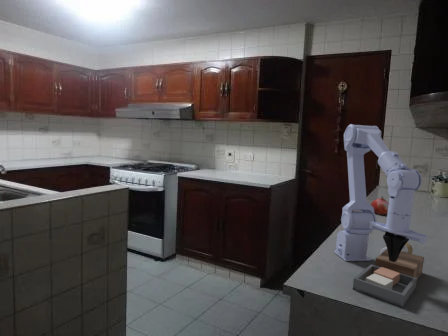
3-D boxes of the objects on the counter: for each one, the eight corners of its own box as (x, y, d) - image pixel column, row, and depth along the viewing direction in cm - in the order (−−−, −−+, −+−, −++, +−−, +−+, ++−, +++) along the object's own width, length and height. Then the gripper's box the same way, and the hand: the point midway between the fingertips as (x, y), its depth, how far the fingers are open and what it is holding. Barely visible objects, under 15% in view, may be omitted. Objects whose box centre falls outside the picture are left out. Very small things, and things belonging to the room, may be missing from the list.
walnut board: (386, 262, 108) (388, 247, 107) (421, 272, 101) (424, 257, 101) (373, 274, 98) (375, 258, 97) (411, 286, 91) (414, 269, 90)
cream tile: (365, 277, 88) (364, 286, 88) (384, 285, 84) (383, 294, 84) (374, 273, 91) (373, 282, 91) (393, 280, 87) (392, 289, 87)
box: (369, 273, 98) (370, 264, 97) (415, 288, 90) (417, 278, 90) (352, 289, 87) (353, 278, 87) (402, 307, 79) (404, 295, 79)
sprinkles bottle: (397, 247, 119) (376, 253, 111) (406, 239, 116) (385, 244, 108) (407, 257, 116) (386, 264, 108) (416, 250, 114) (396, 256, 106)
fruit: (370, 210, 183) (372, 193, 182) (389, 213, 179) (391, 195, 178) (369, 214, 175) (371, 195, 174) (389, 217, 171) (391, 198, 170)
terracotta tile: (381, 275, 95) (381, 266, 94) (399, 281, 91) (400, 273, 91) (372, 280, 92) (373, 271, 91) (391, 287, 88) (392, 278, 87)
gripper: (434, 217, 87) (427, 267, 89) (380, 205, 99) (374, 249, 100) (423, 221, 83) (416, 272, 85) (368, 208, 94) (362, 253, 96)
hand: (393, 260), depth 92 cm, fingers closed
